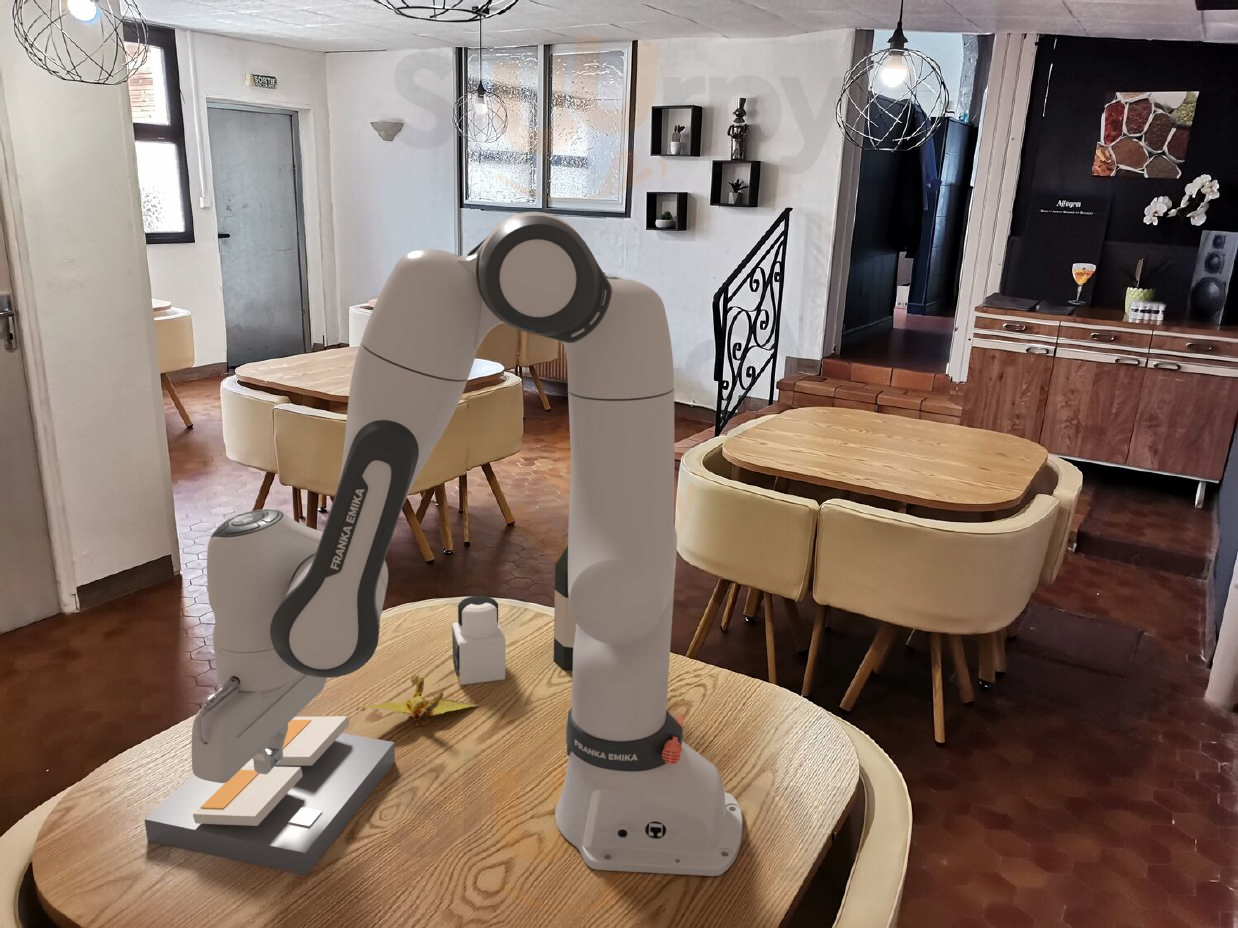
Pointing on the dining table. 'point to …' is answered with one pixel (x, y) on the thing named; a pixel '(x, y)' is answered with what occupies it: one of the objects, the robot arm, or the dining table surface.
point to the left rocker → (247, 796)
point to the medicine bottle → (478, 642)
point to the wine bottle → (563, 617)
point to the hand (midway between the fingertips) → (269, 766)
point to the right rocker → (310, 738)
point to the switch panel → (281, 810)
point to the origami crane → (421, 704)
